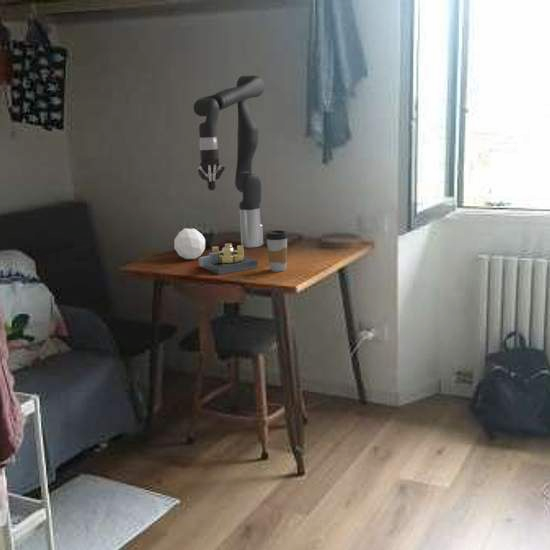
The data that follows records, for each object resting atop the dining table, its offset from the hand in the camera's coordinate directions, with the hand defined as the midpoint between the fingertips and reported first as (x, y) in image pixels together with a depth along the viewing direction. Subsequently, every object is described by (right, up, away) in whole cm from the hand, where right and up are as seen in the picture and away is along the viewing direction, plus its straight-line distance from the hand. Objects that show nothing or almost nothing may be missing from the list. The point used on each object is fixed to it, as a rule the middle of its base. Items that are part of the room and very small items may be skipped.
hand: (211, 190), depth 304 cm
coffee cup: (+28, -34, -20) cm, 48 cm away
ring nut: (+5, -30, -15) cm, 34 cm away
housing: (+8, -32, -12) cm, 35 cm away
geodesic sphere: (-10, -29, +8) cm, 31 cm away
